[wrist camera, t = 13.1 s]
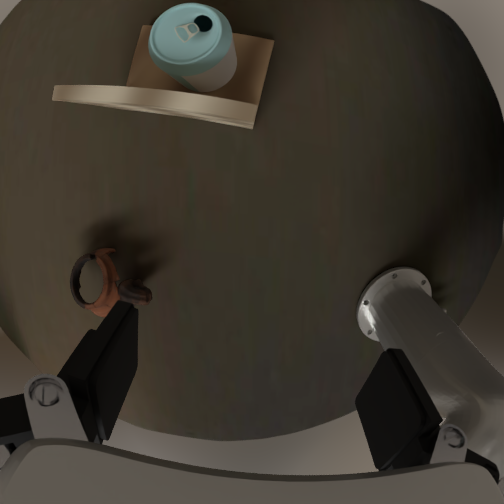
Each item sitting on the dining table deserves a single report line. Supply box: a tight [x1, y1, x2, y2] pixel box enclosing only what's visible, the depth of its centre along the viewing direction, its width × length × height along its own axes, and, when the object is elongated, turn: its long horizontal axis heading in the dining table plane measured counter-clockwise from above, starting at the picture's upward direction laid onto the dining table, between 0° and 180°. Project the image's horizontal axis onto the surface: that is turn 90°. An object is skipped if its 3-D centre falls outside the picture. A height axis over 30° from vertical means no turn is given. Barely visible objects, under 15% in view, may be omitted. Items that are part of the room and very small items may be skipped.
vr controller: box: [70, 248, 152, 317], centre depth 38 cm, size 12×10×8 cm
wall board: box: [52, 25, 274, 129], centre depth 24 cm, size 16×11×16 cm
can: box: [148, 3, 237, 92], centre depth 24 cm, size 7×7×12 cm
